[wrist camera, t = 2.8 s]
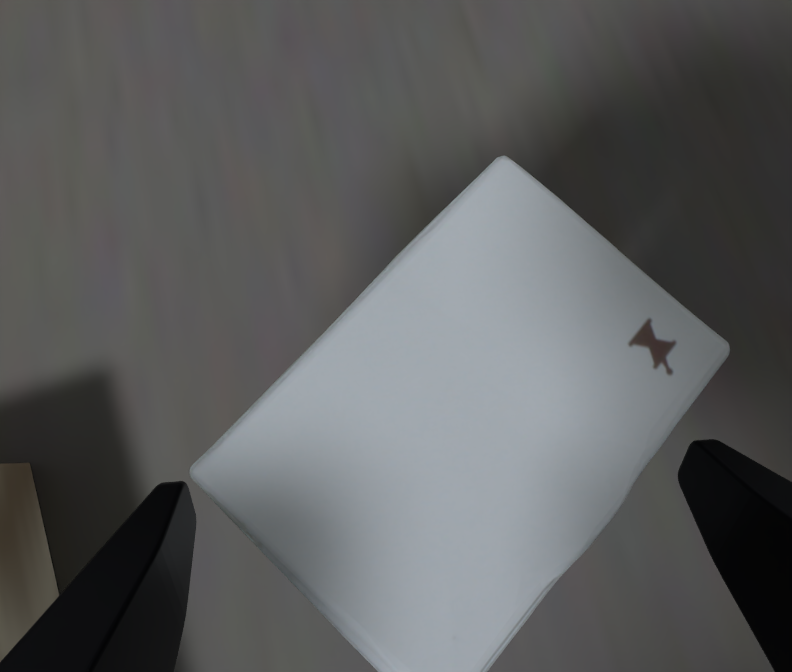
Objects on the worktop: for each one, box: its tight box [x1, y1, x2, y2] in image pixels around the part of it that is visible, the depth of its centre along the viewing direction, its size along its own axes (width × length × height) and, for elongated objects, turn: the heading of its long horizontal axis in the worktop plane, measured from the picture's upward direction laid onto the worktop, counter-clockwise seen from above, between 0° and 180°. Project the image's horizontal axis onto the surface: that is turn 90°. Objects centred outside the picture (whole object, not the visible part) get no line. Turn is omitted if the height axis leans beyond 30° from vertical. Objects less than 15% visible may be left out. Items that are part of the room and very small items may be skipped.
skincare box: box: [190, 156, 730, 672], centre depth 12 cm, size 6×4×12 cm
